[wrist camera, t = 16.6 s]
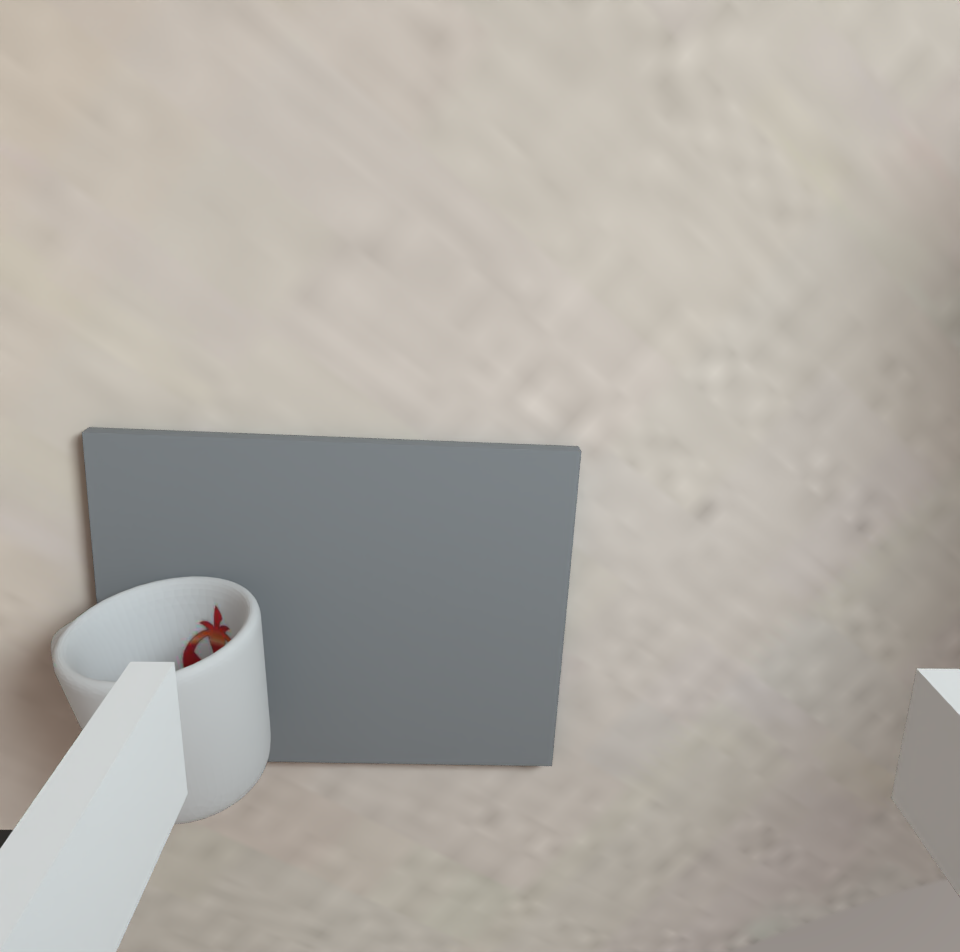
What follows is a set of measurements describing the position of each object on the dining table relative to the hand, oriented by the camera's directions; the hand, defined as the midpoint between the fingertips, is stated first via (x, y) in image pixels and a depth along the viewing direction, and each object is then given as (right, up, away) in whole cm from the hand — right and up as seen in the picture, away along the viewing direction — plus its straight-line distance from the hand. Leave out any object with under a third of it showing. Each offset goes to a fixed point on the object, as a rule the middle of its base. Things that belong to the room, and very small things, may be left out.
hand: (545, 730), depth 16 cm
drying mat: (-8, -1, +25) cm, 26 cm away
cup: (-15, -9, +24) cm, 29 cm away
